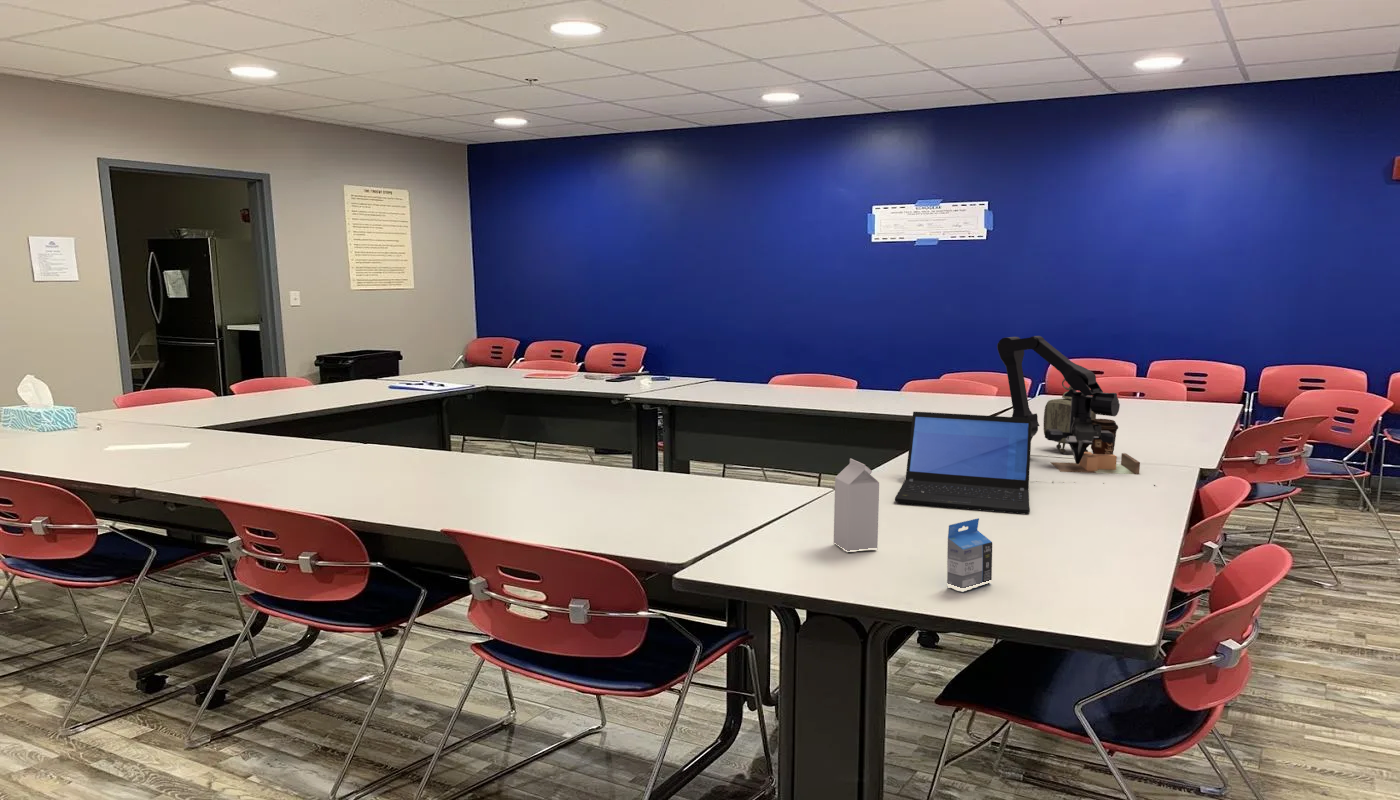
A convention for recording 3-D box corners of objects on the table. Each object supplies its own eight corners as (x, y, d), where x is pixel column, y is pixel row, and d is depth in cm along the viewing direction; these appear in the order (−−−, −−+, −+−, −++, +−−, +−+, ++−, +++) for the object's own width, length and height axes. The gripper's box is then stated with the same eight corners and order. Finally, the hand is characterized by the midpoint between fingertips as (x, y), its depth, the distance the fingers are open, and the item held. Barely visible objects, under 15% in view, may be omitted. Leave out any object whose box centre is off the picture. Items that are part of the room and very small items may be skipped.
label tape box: (962, 593, 175) (965, 529, 174) (944, 587, 178) (947, 524, 177) (992, 584, 180) (995, 522, 179) (974, 579, 184) (977, 517, 182)
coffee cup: (1081, 459, 303) (1083, 418, 301) (1099, 456, 306) (1102, 417, 304) (1102, 464, 295) (1105, 422, 293) (1122, 461, 298) (1124, 421, 296)
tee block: (1086, 470, 280) (1087, 457, 279) (1079, 464, 289) (1080, 451, 288) (1118, 471, 278) (1119, 458, 278) (1110, 465, 287) (1111, 452, 287)
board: (1060, 474, 278) (1061, 459, 278) (1049, 465, 292) (1050, 451, 292) (1139, 477, 275) (1139, 462, 275) (1124, 467, 289) (1125, 453, 288)
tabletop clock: (1094, 455, 309) (1098, 379, 306) (1075, 457, 305) (1080, 380, 302) (1057, 447, 322) (1061, 374, 318) (1039, 450, 317) (1043, 376, 314)
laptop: (893, 505, 243) (895, 431, 240) (910, 476, 278) (912, 411, 275) (1029, 516, 232) (1033, 439, 230) (1029, 484, 267) (1033, 417, 265)
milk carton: (847, 553, 200) (849, 465, 197) (833, 544, 206) (835, 459, 204) (877, 551, 202) (880, 464, 199) (862, 542, 208) (865, 457, 206)
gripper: (1053, 415, 276) (1050, 467, 278) (1121, 417, 273) (1117, 470, 275) (1046, 410, 286) (1043, 460, 289) (1110, 412, 284) (1107, 463, 286)
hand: (1077, 463), depth 284 cm, fingers closed
